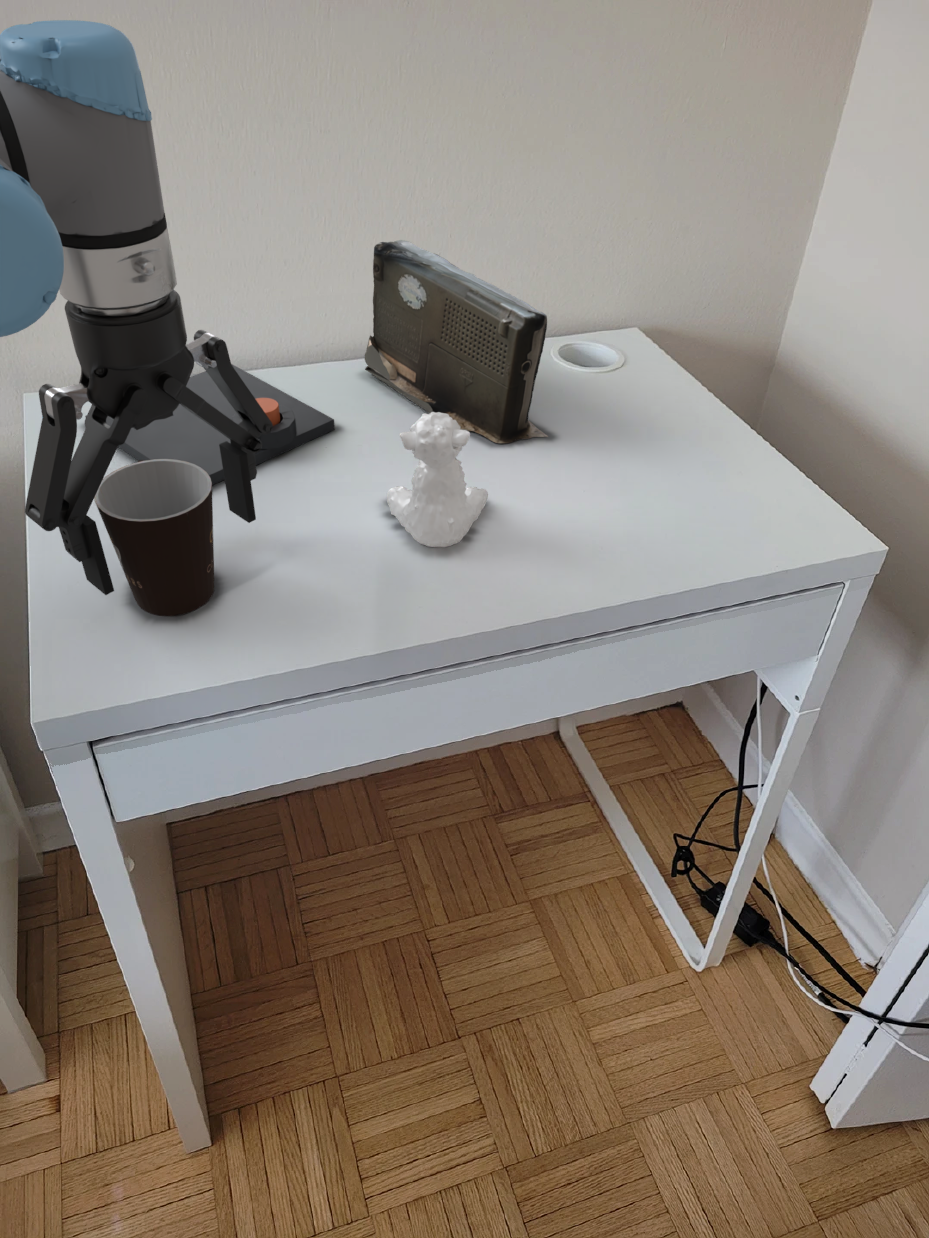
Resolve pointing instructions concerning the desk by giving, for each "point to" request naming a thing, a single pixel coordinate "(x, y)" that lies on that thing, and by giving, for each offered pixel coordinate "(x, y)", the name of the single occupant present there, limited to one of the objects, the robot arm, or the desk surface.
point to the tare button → (270, 409)
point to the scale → (201, 441)
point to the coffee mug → (162, 532)
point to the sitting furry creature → (436, 484)
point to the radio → (454, 342)
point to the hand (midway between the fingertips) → (175, 548)
